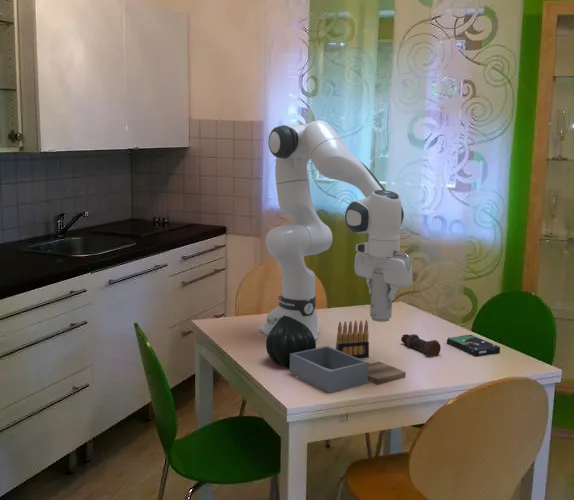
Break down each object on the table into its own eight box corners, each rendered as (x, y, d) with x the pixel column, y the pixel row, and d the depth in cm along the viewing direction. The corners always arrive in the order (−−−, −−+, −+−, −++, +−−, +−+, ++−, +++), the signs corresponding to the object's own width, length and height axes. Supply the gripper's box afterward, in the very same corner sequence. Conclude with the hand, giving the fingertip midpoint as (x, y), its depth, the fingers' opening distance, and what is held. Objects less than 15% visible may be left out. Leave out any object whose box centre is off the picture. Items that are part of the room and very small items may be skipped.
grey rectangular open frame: (289, 373, 196) (289, 353, 195) (326, 364, 205) (327, 345, 204) (329, 393, 182) (329, 371, 181) (367, 382, 190) (368, 362, 189)
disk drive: (500, 355, 219) (469, 341, 233) (501, 346, 219) (470, 333, 232) (475, 359, 215) (445, 344, 228) (476, 350, 215) (446, 336, 228)
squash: (322, 354, 197) (313, 308, 205) (272, 358, 194) (264, 312, 202) (313, 372, 209) (305, 328, 217) (266, 377, 206) (259, 332, 214)
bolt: (405, 348, 228) (435, 360, 215) (395, 343, 226) (425, 355, 213) (412, 333, 229) (443, 344, 216) (402, 327, 226) (433, 338, 213)
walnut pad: (351, 373, 198) (351, 368, 198) (378, 366, 204) (379, 361, 204) (377, 384, 189) (377, 379, 189) (405, 377, 196) (405, 372, 195)
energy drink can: (372, 315, 198) (374, 265, 195) (392, 318, 196) (395, 267, 193) (367, 321, 192) (370, 269, 190) (388, 323, 190) (391, 271, 188)
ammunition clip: (337, 360, 209) (338, 322, 207) (334, 358, 211) (336, 320, 209) (368, 357, 212) (370, 320, 210) (366, 355, 214) (368, 318, 212)
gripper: (419, 253, 184) (416, 302, 186) (367, 242, 200) (365, 288, 203) (402, 255, 180) (400, 305, 183) (351, 244, 197) (349, 290, 199)
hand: (381, 296), depth 193 cm, fingers closed on energy drink can, 6 cm apart
